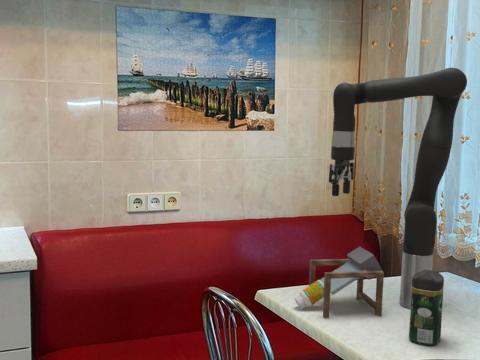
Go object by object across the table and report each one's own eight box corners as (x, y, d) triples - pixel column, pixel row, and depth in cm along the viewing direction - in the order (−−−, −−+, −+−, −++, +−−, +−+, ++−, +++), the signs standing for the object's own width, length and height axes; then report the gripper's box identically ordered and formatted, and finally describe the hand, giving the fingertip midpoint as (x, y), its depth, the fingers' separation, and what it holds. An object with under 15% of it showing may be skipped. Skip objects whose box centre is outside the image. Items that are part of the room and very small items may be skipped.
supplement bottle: (325, 285, 164) (299, 302, 162) (330, 297, 166) (304, 314, 165) (316, 276, 168) (291, 293, 167) (321, 287, 171) (296, 304, 169)
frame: (360, 298, 178) (362, 258, 176) (381, 315, 162) (383, 272, 160) (308, 300, 174) (309, 259, 173) (324, 318, 159) (326, 273, 157)
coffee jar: (412, 330, 151) (417, 265, 149) (442, 336, 147) (447, 270, 145) (405, 342, 143) (409, 274, 141) (436, 349, 139) (441, 279, 137)
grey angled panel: (367, 261, 174) (359, 246, 173) (383, 271, 163) (374, 255, 162) (323, 289, 173) (314, 274, 172) (336, 301, 161) (327, 285, 160)
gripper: (341, 144, 183) (339, 191, 185) (322, 145, 171) (320, 195, 173) (362, 145, 179) (360, 193, 180) (344, 146, 167) (342, 198, 169)
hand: (340, 194), depth 177 cm, fingers open, 8 cm apart
